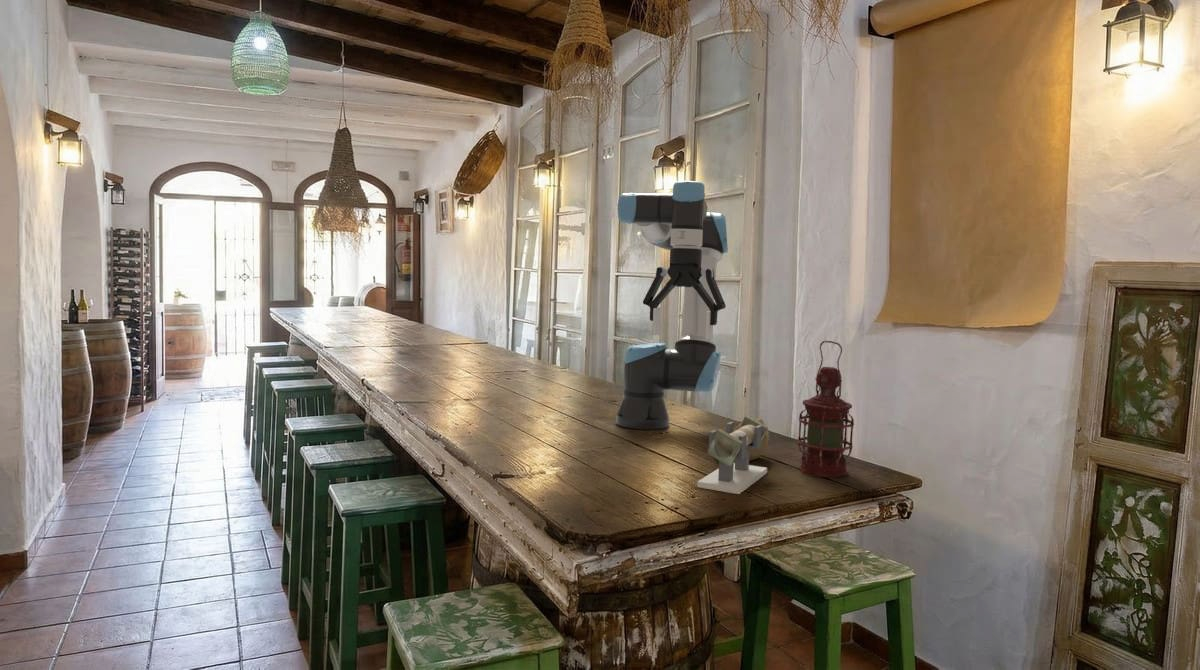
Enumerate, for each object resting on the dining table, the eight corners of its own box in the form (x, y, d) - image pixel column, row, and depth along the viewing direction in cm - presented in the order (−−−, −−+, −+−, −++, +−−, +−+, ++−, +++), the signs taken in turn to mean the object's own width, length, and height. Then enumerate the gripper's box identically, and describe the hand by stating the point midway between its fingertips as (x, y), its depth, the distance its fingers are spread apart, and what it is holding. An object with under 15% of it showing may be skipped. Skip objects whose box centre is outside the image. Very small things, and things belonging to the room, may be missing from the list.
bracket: (728, 466, 184) (731, 419, 183) (766, 473, 180) (769, 423, 179) (697, 487, 166) (700, 434, 165) (739, 494, 162) (742, 439, 161)
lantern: (785, 466, 186) (792, 338, 183) (827, 463, 191) (835, 338, 188) (817, 480, 175) (826, 344, 172) (862, 476, 179) (871, 343, 177)
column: (737, 436, 182) (747, 415, 181) (758, 447, 180) (768, 426, 179) (707, 453, 164) (717, 430, 163) (729, 466, 162) (740, 443, 161)
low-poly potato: (770, 455, 198) (732, 428, 203) (786, 423, 192) (747, 396, 197) (738, 482, 188) (700, 453, 193) (754, 449, 182) (714, 420, 187)
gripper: (631, 246, 192) (628, 333, 194) (731, 248, 180) (726, 341, 182) (644, 247, 199) (641, 332, 200) (741, 249, 187) (737, 339, 189)
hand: (682, 337), depth 191 cm, fingers open, 13 cm apart
